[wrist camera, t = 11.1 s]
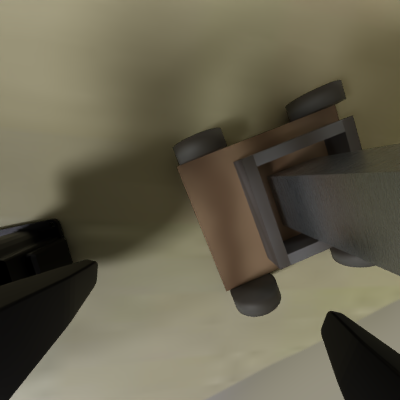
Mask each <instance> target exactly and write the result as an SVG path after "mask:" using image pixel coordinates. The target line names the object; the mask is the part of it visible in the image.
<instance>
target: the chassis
mask: <svg viewBox="0 0 400 400" xmlns="http://www.w3.org/2000/svg"><path fill="white" fill-rule="evenodd" d="M345 99H346V97H345V93H344V89H343V86H342V82H341V80H337V81H333V82H331V83H328V84H326V85H323V86H321V87H319V88H317V89H314V90H312V91H310V92H308V93H306V94H304V95H303V96H301V97H299V98H297V99H295V100H294V101H292V102H291V103H289V104H288V105H287V106H286V110H287V113H288V117H289V120H290V122H289V123H287V124H284V125H282V126H279V127H277V128H274V129H272V130H269V131H266V132H264V133H261V134H259V135H256V136H254V137H251V138H248V139H246V140H243V141H241V142H238V143H236V144H233V145H231V146H228V147H226V146H227V144H226V141H225V139H224V136H223V133H222V130H221V128H213V129H209V130H206V131H203V132H200V133H198V134H195V135H193V136H191V137H188V138H186V139H184V140H182V141H181V142H179V143H177V144H176V145H175V146H174V147H173V150H174V152H175V155H176V157H177V160H178V162H179V166H177V169H178V172H179V174H180V177H181V179H182V182H183V184H184V187H185V189H186V192H187V194H188V197H189V199H190V202H191V204H192V207H193V209H194V212H195V214H196V217H197V219H198V222H199V224H200V227H201V229H202V232H203V234H204V237H205V239H206V242H207V244H208V246H209V249H210V251H211V254H212V256H213V259H214V261H215V264H216V266H217V269H218V271H219V274H220V276H221V279H222V281H223V284H224V286H225V289H226V291H228V290H230V291H231V295H232V297H233V300H234V302H235V305H236V307H237V309H238V311H239V312H240V313H242V314H244V315H246V316H251V317H257V316H263V315H266V314H268V313H270V312H272V311H273V310H274V309H275V308H276V307H277V306H278V305H279V303H280V300H281V294H280V291H279V288H278V285H277V283H276V280H275V278H274V276H273V275H271V274H270V272H272V271H275V270H277V269H283V268H285V267H288V266H290V265H292V264H294V263H297V262H299V261H301V260H304V259H306V258H308V257H311V256H313V255H315V254H318V253H320V252H322V251H325V250H327V249H329V248H330V251H331V254H332V257H333V259H334V260H335V261H336V262H338V263H340V264H342V265H345V266H350V267H370V266H375V265H374V264H371V263H369V262H367V261H365V260H362V259H360V258H358V257H355V256H353V255H351V254H349V253H346V252H344V251H342V250H339V249H337V248H335V247H333V246H330V245H328V244H326V243H323V242H321V241H319V240H317V239H314V238H312V237H310V236H307V235H305V234H303V233H301V232H298V231H296V230H294V229H291V228H289V227H287V226H285V225H283V223H282V220H281V217H280V214H279V211H278V208H277V206H276V203H275V200H274V197H273V194H272V191H271V188H270V185H269V182H268V179H267V177H268V176H270V175H273V174H275V173H278V172H280V171H283V170H285V169H288V168H290V167H293V166H295V165H298V164H300V163H303V162H305V161H308V160H310V159H313V158H316V157H322V156H328V155H334V154H340V153H346V152H352V151H358V150H362V148H361V144H360V140H359V137H358V133H357V129H356V126H355V122H354V118H353V115H352V116H350V117H347V118H344V119H342V120H339V118H338V114H337V111H336V107H335V104H337V103H339V102H341V101H343V100H345Z"/></svg>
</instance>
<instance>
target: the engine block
mask: <svg viewBox="0 0 400 400" xmlns="http://www.w3.org/2000/svg"><path fill="white" fill-rule="evenodd" d="M267 179H268V182H269V185H270V188H271V191H272V194H273V197H274V200H275V203H276V206H277V208H278V211H279V214H280V217H281V220H282V223H283V225H285V226H287V227H289V228H291V229H294V230H296V231H298V232H301V233H303V234H305V235H307V236H310V237H312V238H314V239H317V240H319V241H321V242H323V243H326V244H328V245H330V246H333V247H335V248H337V249H339V250H342V251H344V252H346V253H349V254H351V255H353V256H355V257H358V258H360V259H362V260H365V261H367V262H369V263H371V264H374V265H376V266H378V267H381V268H383V269H385V270H387V271H390V272H392V273H394V274H397V275H399V276H400V144H394V145H388V146H382V147H376V148H370V149H364V150H358V151H352V152H346V153H340V154H334V155H328V156H322V157H316V158H313V159H310V160H308V161H305V162H303V163H300V164H298V165H295V166H293V167H290V168H288V169H285V170H283V171H280V172H278V173H275V174H273V175H270V176H268V177H267Z"/></svg>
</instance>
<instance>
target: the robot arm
mask: <svg viewBox="0 0 400 400" xmlns="http://www.w3.org/2000/svg"><path fill="white" fill-rule="evenodd" d="M52 222H53V223H54V227H53V226H52V225H51V223H52ZM97 268H98V264H97V262H96V261H92V260H83V261H80V262H76V263H73V262H72V259H71V255H70V252H69V248H68V245H67V242H66V240H65V239H64V235H63V232H62V229H61V225H60V222H59V221H58V220H57V219H50V220H45V221H40V222H35V223H30V224H26V225H21V226H16V227H11V228H6V229H2V230H0V400H9V399H10V398H11V396H12V395H13V394H14V393H15V391H16V390H17V389H18V388H19V386H20V385H21V384H22V383H23V381H24V380H25V379H26V378H27V376H28V375H29V374H30V373H31V371H32V370H33V369H34V368H35V366H36V365H37V364H38V363H39V361H40V360H41V359H42V358H43V356H44V355H45V354H46V353H47V351H48V350H49V349H50V348H51V346H52V345H53V344H54V343H55V341H56V340H57V339H58V338H59V336H60V335H61V334H62V333H63V331H64V330H65V329H66V327H67V326H68V325H69V324H70V322H71V321H72V319H73V318H74V316H75V315H76V313H77V312H78V310H79V309H80V307H81V306H82V304H83V303H84V301H85V300H86V298H87V297H88V295H89V294H90V292H91V291H92V289H93V288H94V286H95V284H96V281H97ZM321 335H322V338H323V341H324V344H325V347H326V350H327V353H328V356H329V359H330V361H331V365H332V368H333V370H334V373H335V376H336V379H337V382H338V384H339V387H340V390H341V392H342V394H343V397H344V399H345V400H400V354H399V353H397V352H396V351H395V350H393V349H392V348H390V347H389V346H387V345H386V344H384V343H383V342H382V341H380V340H379V339H378V338H376V337H375V336H373V335H372V334H370V333H369V332H367V331H366V330H365V329H363V328H362V327H361V326H359V325H358V324H356V323H355V322H353V321H352V320H351V319H349V318H348V317H346V316H345V315H344V314H342V313H339V312H334V311H329V312H328V313H327V315H326V317H325V320H324V323H323V325H322V328H321Z"/></svg>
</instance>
